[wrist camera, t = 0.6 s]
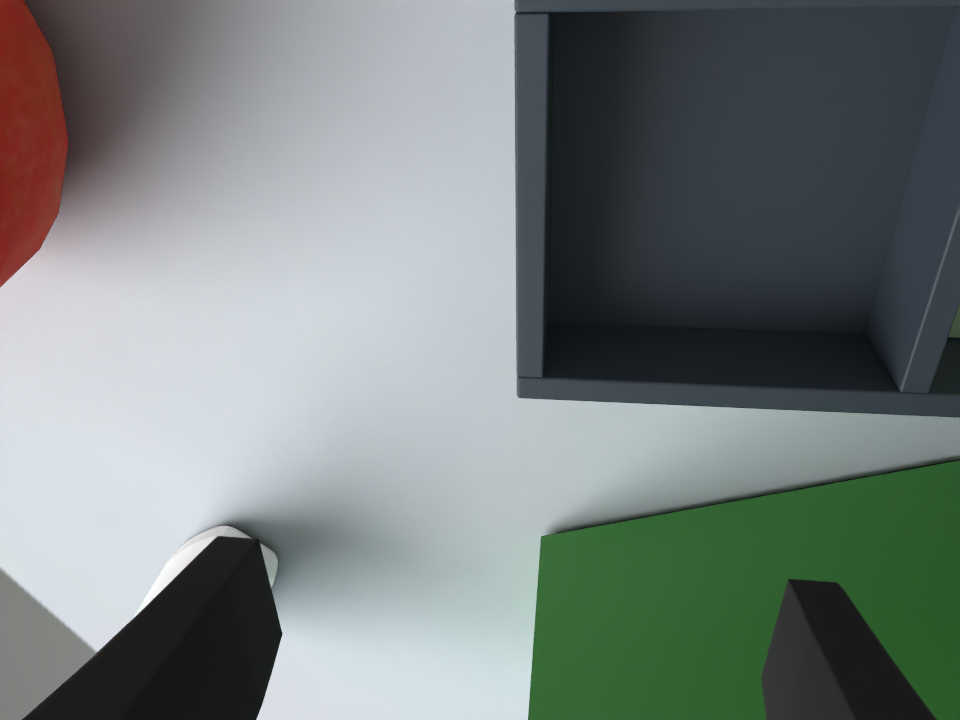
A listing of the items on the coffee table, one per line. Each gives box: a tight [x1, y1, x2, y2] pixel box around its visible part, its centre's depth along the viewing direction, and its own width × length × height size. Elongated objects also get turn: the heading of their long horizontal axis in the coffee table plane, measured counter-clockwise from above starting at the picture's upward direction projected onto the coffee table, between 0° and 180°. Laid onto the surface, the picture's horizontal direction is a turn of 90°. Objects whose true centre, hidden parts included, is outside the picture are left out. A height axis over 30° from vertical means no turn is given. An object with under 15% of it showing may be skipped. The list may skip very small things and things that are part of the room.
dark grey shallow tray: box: [515, 0, 960, 417], centre depth 16 cm, size 9×17×3 cm, turn 92°
